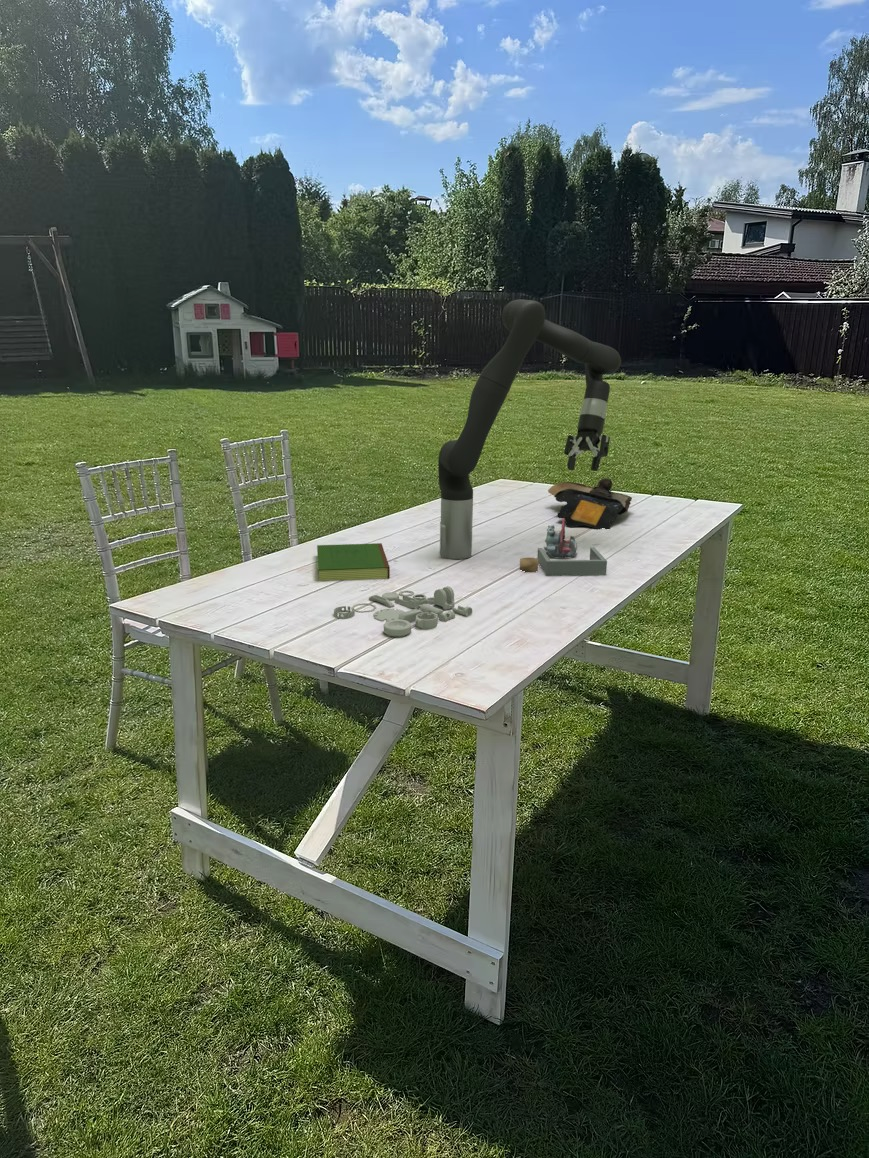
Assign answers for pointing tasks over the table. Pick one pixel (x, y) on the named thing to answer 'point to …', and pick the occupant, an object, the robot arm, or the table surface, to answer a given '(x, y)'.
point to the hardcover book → (352, 562)
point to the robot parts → (401, 620)
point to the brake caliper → (560, 542)
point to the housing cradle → (573, 565)
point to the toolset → (589, 503)
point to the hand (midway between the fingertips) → (582, 470)
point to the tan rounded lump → (529, 564)
